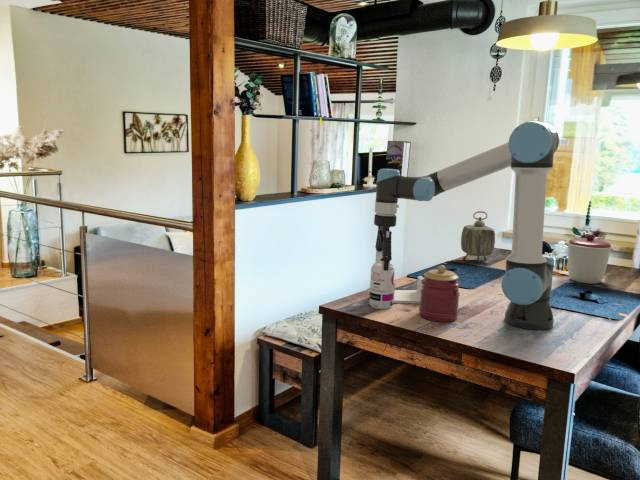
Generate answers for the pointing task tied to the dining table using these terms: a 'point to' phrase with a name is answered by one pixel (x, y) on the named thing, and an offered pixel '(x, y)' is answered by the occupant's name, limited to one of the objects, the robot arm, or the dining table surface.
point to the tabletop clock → (478, 239)
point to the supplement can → (381, 288)
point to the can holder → (408, 294)
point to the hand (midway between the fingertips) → (381, 274)
